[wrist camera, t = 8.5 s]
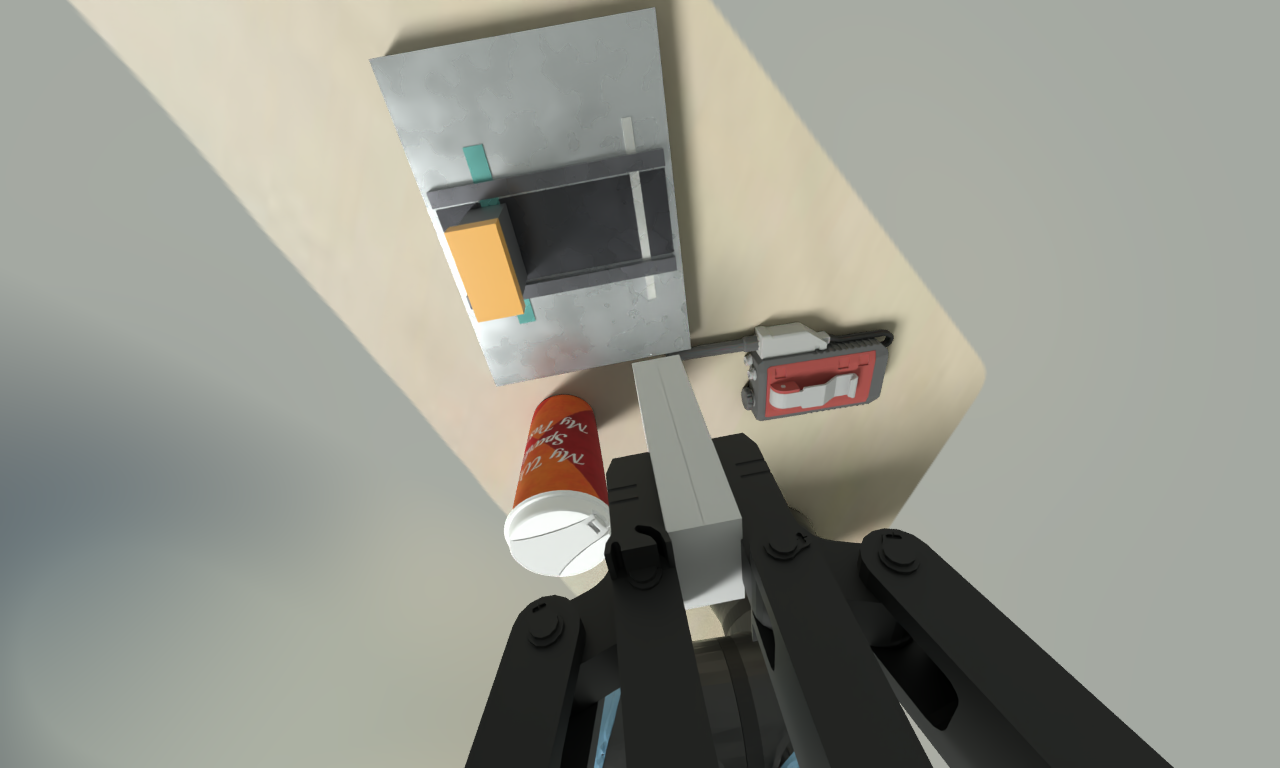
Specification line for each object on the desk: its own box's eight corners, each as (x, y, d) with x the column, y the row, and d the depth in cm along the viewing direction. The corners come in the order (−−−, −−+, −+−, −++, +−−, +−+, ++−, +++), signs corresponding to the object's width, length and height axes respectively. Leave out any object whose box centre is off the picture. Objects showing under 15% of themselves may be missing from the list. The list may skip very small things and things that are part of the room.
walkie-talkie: (888, 303, 41) (662, 338, 40) (919, 326, 38) (671, 364, 37) (872, 386, 46) (669, 418, 45) (897, 413, 42) (677, 449, 42)
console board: (686, 337, 40) (692, 352, 38) (499, 373, 40) (495, 390, 38) (650, 11, 28) (656, 5, 26) (380, 60, 28) (364, 59, 25)
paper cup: (572, 368, 40) (573, 487, 29) (622, 425, 44) (640, 549, 33) (501, 413, 42) (474, 543, 30) (555, 464, 46) (549, 596, 34)
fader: (531, 278, 33) (523, 313, 28) (492, 285, 33) (478, 322, 28) (507, 199, 30) (495, 223, 26) (464, 207, 30) (443, 233, 25)
